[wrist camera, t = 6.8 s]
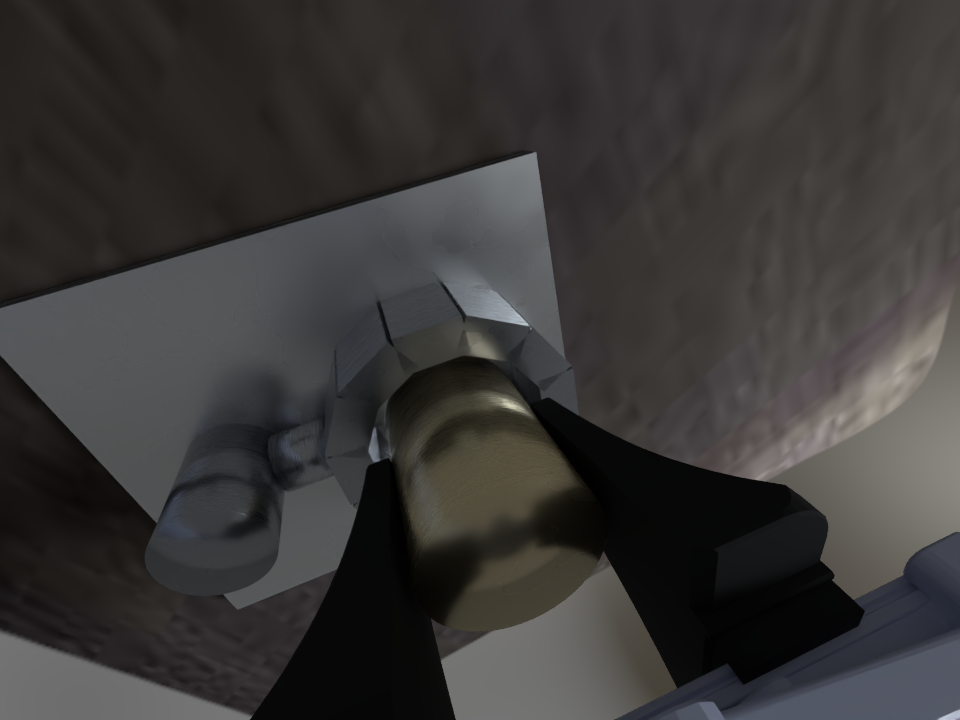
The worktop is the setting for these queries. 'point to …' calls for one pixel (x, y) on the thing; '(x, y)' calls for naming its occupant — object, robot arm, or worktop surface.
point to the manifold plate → (290, 364)
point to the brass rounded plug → (486, 499)
